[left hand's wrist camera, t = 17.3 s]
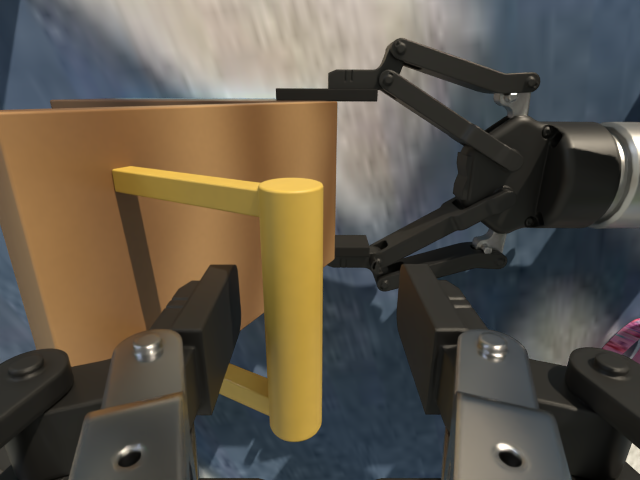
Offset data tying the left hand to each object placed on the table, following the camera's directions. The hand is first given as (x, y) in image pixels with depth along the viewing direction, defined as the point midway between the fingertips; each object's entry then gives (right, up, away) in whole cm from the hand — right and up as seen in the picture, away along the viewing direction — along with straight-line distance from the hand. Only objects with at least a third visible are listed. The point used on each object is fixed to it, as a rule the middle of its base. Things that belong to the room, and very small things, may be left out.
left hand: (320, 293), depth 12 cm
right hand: (-3, +6, +17) cm, 18 cm away
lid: (-4, +3, +7) cm, 8 cm away
